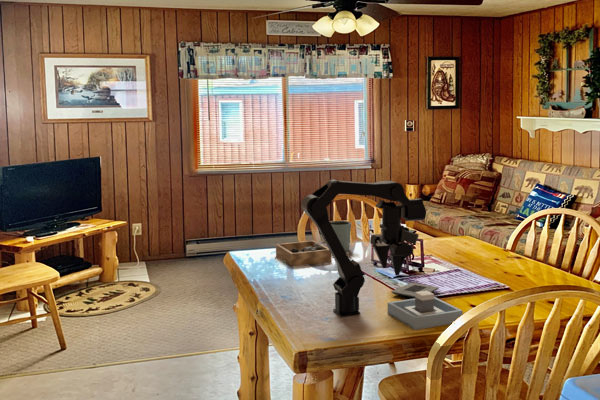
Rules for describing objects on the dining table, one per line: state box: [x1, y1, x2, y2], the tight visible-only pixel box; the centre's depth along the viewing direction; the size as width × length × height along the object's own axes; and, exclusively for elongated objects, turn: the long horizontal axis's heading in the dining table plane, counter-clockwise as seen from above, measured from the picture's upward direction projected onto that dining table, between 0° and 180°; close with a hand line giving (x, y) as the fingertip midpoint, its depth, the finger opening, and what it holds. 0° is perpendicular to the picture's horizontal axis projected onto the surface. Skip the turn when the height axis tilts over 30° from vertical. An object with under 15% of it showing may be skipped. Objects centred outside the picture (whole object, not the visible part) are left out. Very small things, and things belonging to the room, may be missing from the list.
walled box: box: [387, 296, 464, 331], centre depth 202 cm, size 16×16×4 cm
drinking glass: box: [330, 220, 352, 253], centre depth 291 cm, size 10×10×12 cm
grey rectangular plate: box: [391, 282, 440, 299], centre depth 226 cm, size 13×10×2 cm
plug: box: [414, 291, 435, 313], centre depth 202 cm, size 4×4×7 cm
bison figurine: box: [290, 242, 323, 253], centre depth 275 cm, size 12×7×10 cm
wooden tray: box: [275, 240, 333, 267], centre depth 277 cm, size 17×19×5 cm
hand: (390, 271), depth 210 cm, fingers open, 9 cm apart
